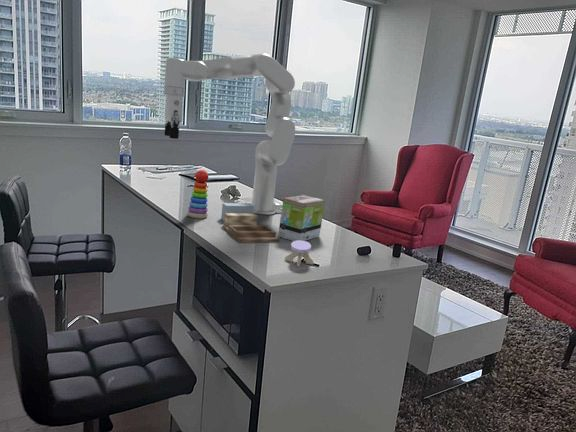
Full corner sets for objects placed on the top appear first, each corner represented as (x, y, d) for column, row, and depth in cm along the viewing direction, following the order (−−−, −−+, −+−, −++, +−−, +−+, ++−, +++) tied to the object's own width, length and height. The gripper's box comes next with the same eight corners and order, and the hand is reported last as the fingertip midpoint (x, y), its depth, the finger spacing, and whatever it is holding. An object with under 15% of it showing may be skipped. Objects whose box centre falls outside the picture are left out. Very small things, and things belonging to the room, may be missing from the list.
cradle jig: (261, 229, 181) (262, 223, 180) (279, 241, 167) (280, 235, 166) (224, 229, 174) (225, 222, 173) (239, 242, 160) (240, 235, 160)
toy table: (289, 255, 153) (292, 238, 152) (316, 261, 151) (319, 243, 150) (280, 263, 144) (283, 245, 143) (309, 269, 142) (311, 251, 140)
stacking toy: (190, 219, 183) (194, 171, 179) (184, 214, 190) (188, 167, 186) (210, 219, 187) (214, 172, 183) (203, 214, 193) (207, 168, 189)
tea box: (300, 243, 168) (306, 203, 165) (277, 236, 173) (282, 197, 170) (320, 236, 181) (325, 199, 178) (297, 230, 186) (302, 193, 183)
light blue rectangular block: (248, 219, 195) (250, 203, 194) (252, 221, 191) (254, 206, 190) (221, 218, 190) (222, 203, 188) (224, 221, 186) (226, 205, 184)
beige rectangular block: (252, 225, 185) (253, 213, 184) (256, 228, 182) (257, 215, 181) (223, 226, 180) (224, 213, 178) (226, 228, 177) (227, 215, 175)
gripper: (189, 93, 175) (186, 140, 179) (178, 92, 190) (176, 135, 194) (168, 91, 171) (165, 138, 175) (159, 90, 187) (157, 134, 190)
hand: (171, 137), depth 184 cm, fingers open, 9 cm apart
